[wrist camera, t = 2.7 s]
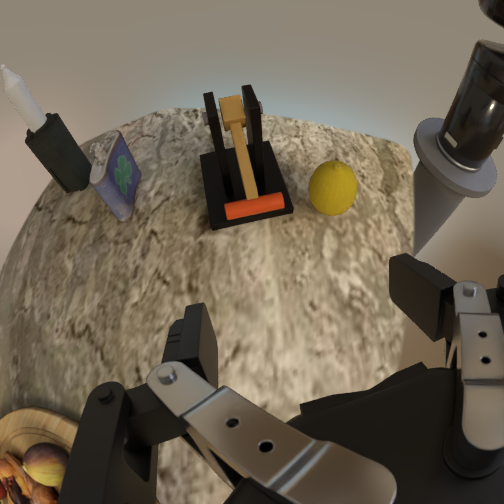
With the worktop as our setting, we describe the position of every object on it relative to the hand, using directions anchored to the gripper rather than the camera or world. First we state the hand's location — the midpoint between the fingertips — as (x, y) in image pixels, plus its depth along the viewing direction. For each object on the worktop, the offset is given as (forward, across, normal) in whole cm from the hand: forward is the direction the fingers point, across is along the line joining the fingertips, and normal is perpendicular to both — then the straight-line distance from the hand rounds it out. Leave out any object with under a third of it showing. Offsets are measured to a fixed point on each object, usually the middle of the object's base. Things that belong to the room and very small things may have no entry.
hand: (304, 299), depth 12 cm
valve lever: (+20, 0, -5) cm, 21 cm away
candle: (+36, +26, -9) cm, 45 cm away
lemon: (+25, -9, +3) cm, 26 cm away
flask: (+31, +16, -4) cm, 35 cm away
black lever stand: (+29, 0, -2) cm, 29 cm away
